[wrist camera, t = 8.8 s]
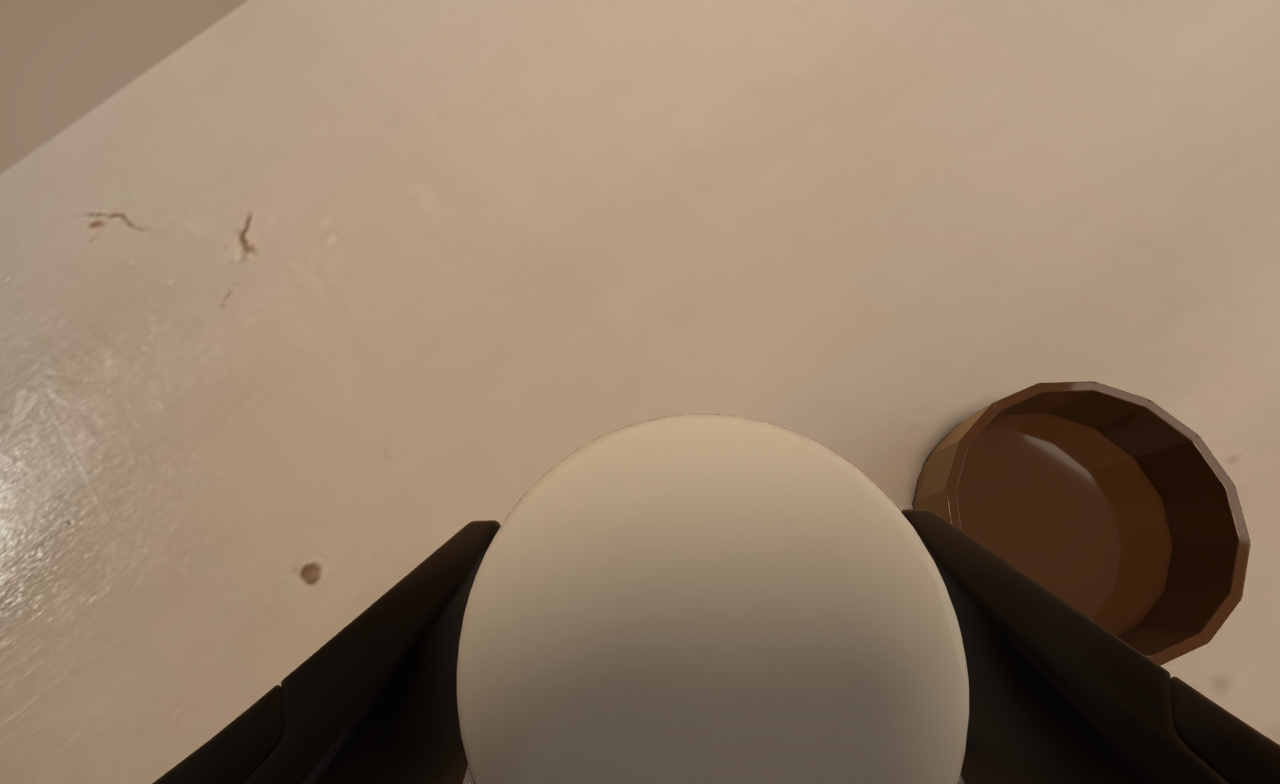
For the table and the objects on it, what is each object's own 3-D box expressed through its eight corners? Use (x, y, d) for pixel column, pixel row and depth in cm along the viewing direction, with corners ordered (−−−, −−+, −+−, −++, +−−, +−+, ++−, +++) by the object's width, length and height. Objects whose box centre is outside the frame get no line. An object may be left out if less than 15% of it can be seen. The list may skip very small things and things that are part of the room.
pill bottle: (860, 575, 15) (1141, 545, 6) (747, 811, 14) (869, 1267, 5) (651, 457, 16) (599, 272, 7) (529, 665, 15) (265, 782, 6)
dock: (1223, 592, 20) (1314, 594, 17) (997, 698, 19) (1050, 718, 17) (1074, 373, 22) (1132, 341, 19) (869, 463, 22) (896, 445, 19)
